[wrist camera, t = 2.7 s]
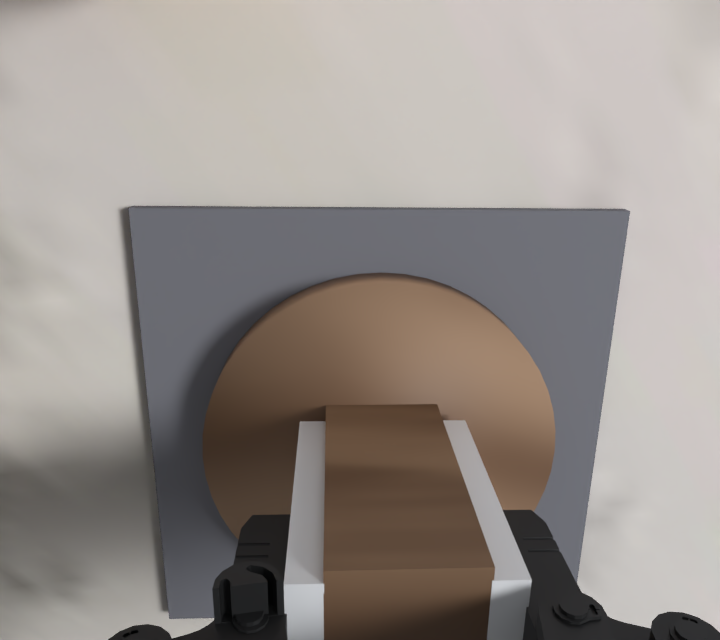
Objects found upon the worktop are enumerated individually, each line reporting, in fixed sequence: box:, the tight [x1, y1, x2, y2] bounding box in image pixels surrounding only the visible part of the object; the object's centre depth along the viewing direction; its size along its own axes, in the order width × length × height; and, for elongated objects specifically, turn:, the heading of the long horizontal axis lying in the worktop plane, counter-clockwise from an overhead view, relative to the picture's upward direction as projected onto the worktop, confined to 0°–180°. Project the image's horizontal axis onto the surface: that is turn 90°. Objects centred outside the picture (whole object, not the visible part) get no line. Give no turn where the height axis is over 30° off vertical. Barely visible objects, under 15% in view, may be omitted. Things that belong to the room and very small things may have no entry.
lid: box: [203, 273, 556, 640], centre depth 16 cm, size 10×10×8 cm
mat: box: [128, 206, 630, 619], centre depth 21 cm, size 14×14×1 cm
